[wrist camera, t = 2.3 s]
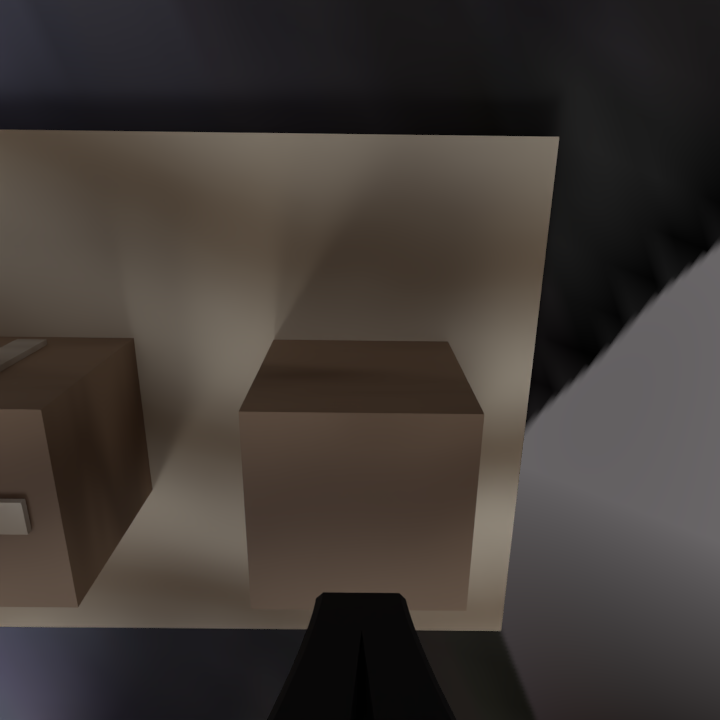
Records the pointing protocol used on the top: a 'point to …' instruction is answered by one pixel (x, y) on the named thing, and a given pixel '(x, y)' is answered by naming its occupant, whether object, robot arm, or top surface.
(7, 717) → the top surface
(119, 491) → the one bar block
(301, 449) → the plain block
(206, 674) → the top surface
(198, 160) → the board
